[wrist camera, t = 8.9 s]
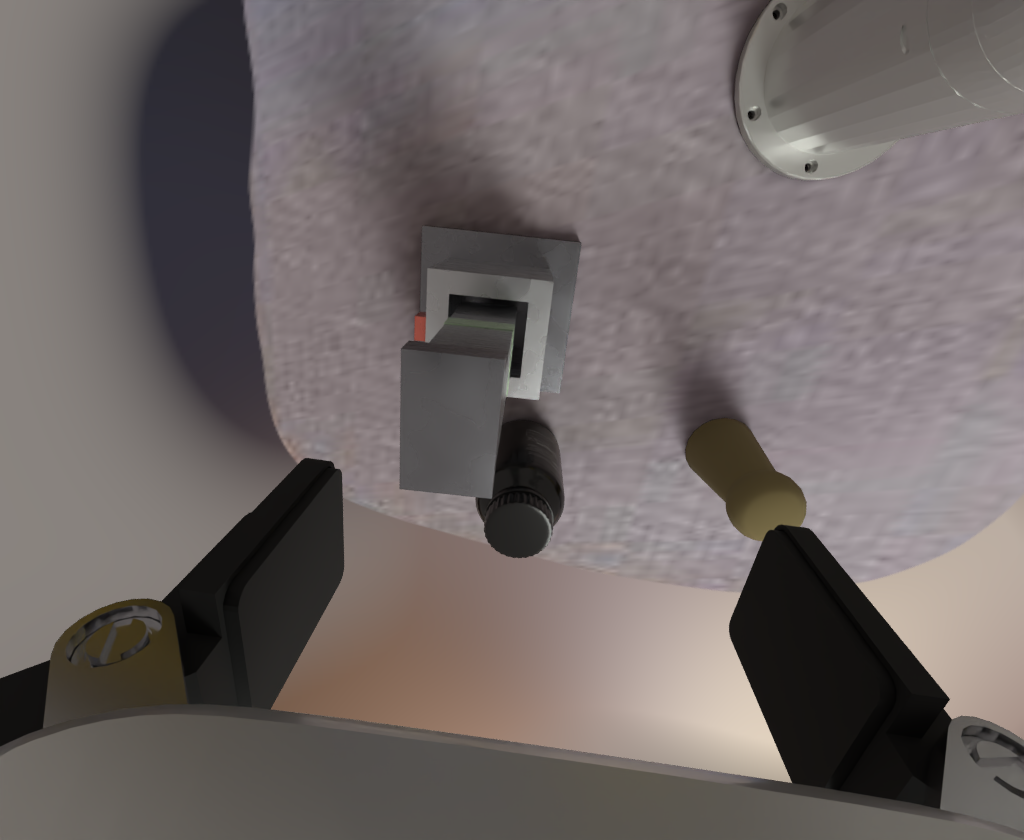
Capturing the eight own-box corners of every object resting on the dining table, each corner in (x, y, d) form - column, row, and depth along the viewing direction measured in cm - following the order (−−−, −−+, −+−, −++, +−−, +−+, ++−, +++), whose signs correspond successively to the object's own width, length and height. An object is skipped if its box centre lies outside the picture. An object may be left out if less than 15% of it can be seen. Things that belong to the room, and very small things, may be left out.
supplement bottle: (472, 433, 44) (452, 505, 33) (543, 406, 43) (546, 472, 32) (502, 494, 46) (493, 581, 35) (570, 471, 45) (582, 553, 34)
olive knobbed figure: (674, 468, 45) (715, 543, 34) (702, 409, 42) (755, 470, 32) (735, 486, 45) (794, 564, 35) (767, 428, 43) (839, 494, 32)
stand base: (424, 225, 37) (393, 227, 29) (580, 242, 37) (593, 249, 29) (420, 374, 42) (392, 413, 34) (559, 389, 42) (565, 431, 34)
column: (464, 285, 32) (399, 348, 17) (519, 291, 32) (506, 360, 17) (459, 367, 34) (398, 488, 19) (511, 372, 34) (492, 498, 19)
